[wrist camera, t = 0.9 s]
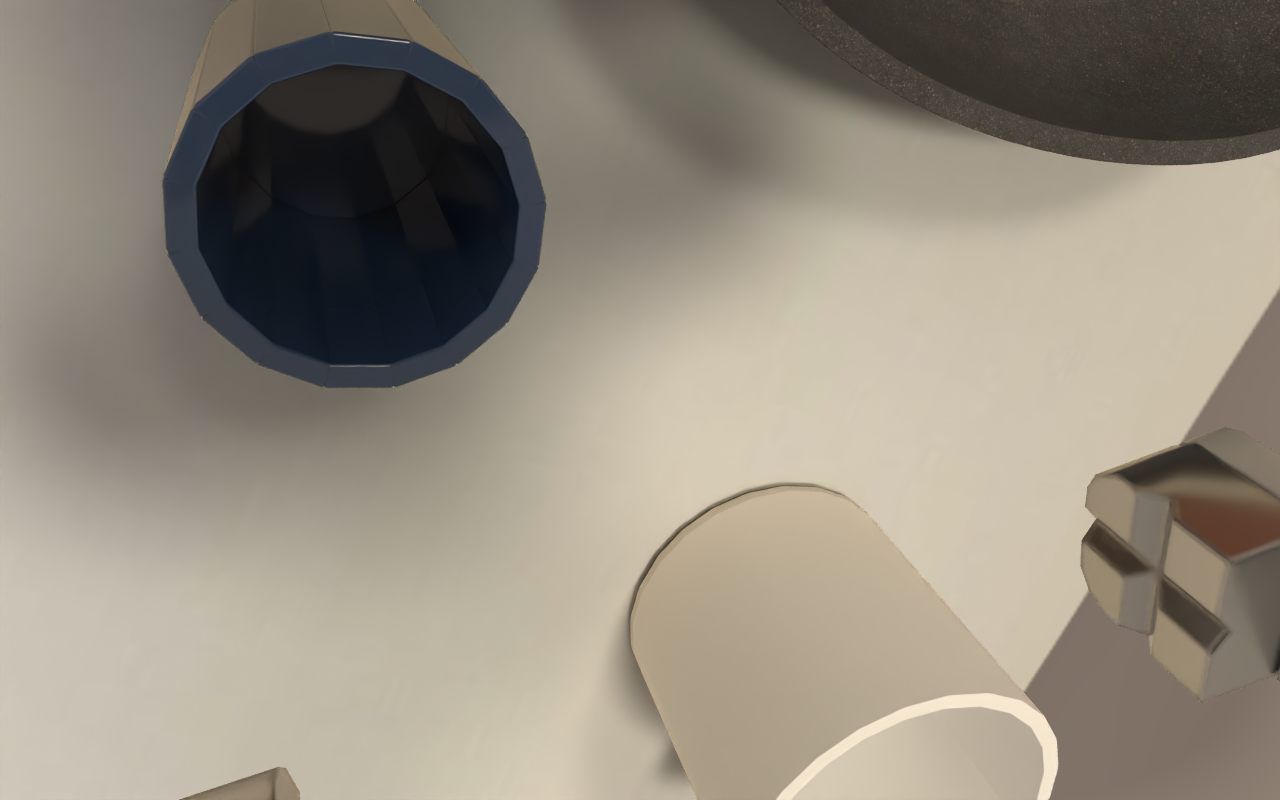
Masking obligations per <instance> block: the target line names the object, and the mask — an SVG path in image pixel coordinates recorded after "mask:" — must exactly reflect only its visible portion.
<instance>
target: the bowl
mask: <svg viewBox="0 0 1280 800" xmlns="http://www.w3.org/2000/svg"><path fill="white" fill-rule="evenodd" d="M777 1H778V2H779V3H780V4H781V5H782V6H783V7H784V8H785V9H786V10H787V11H788V12H789V13H790V15H791V16H792V17H793V18H794V19H795V20H796V21H797V22H798V23H799V24H801V25H802V26H803V27H804V28H805V29H806V30H807V31H808V32H810V33H811V34H812V35H813V36H814V37H815V38H816V39H817V40H819V41H820V42H821V43H822V44H823V45H824V46H826V47H827V48H828V49H830V50H831V51H832V52H834V53H835V54H836V55H838V56H839V57H840V58H842V59H843V60H844V61H846V62H847V63H848V64H849V65H851V66H852V67H854V68H855V69H857V70H858V71H860V72H861V73H863V74H865V75H866V76H868V77H869V78H871V79H872V80H874V81H875V82H877V83H878V84H880V85H882V86H883V87H885V88H887V89H889V90H891V91H892V92H894V93H896V94H898V95H900V96H901V97H903V98H905V99H907V100H909V101H910V102H912V103H914V104H916V105H919V106H921V107H923V108H925V109H927V110H929V111H931V112H933V113H935V114H938V115H940V116H942V117H944V118H946V119H949V120H951V121H954V122H956V123H959V124H961V125H964V126H966V127H969V128H971V129H974V130H977V131H980V132H982V133H985V134H988V135H991V136H994V137H997V138H1000V139H1003V140H1006V141H1010V142H1013V143H1017V144H1021V145H1024V146H1028V147H1032V148H1035V149H1039V150H1044V151H1048V152H1053V153H1057V154H1062V155H1067V156H1072V157H1078V158H1085V159H1091V160H1097V161H1105V162H1115V163H1125V164H1141V165H1192V164H1203V163H1215V162H1223V161H1229V160H1235V159H1242V158H1247V157H1251V156H1256V155H1260V154H1264V153H1269V152H1272V151H1276V150H1279V149H1280V0H777Z"/></svg>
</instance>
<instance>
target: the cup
mask: <svg viewBox="0 0 1280 800" xmlns="http://www.w3.org/2000/svg"><path fill="white" fill-rule="evenodd" d="M163 176H164V177H163V180H162V189H163V207H164V225H165V243H166V250H167V251H168V252H167V254H168V257H169V259H170V261H171V263H172V265H173V267H174V269H175V270H176V272H177V274H178V276H179V278H180V280H181V282H182V284H183V286H184V288H185V289H186V291H187V293H188V295H189V297H190V299H191V301H192V303H193V305H194V307H195V308H196V310H197V312H198V314H199V315H200V316H201V317H202V318H203V320H204V321H205V322H206V323H208V324H209V325H210V326H211V327H212V328H214V329H215V330H216V331H217V332H218V333H220V334H221V335H222V336H223V337H224V338H226V339H227V340H228V341H229V342H230V343H232V344H233V345H234V346H235V347H236V348H238V349H239V350H240V351H241V352H242V353H244V354H245V355H246V356H247V357H248V358H250V359H251V360H252V361H253V362H255V363H258V364H259V365H260V366H263V367H266V368H268V369H271V370H274V371H277V372H280V373H283V374H286V375H288V376H291V377H294V378H297V379H300V380H303V381H306V382H308V383H311V384H314V385H317V386H320V387H324V386H325V387H326V388H392V387H393V386H394V387H398V386H400V385H403V384H406V383H409V382H412V381H414V380H417V379H420V378H423V377H426V376H428V375H431V374H434V373H437V372H440V371H442V370H445V369H448V368H451V367H454V366H455V365H456V364H459V363H460V362H462V361H463V360H464V359H465V358H466V357H468V356H469V355H470V354H471V353H472V352H474V351H475V350H476V349H477V348H478V347H480V346H481V345H482V344H483V343H484V342H486V341H487V340H488V339H489V338H490V337H492V336H493V335H494V334H495V333H497V332H498V331H499V330H500V329H501V328H503V327H504V326H505V325H506V323H508V322H509V320H510V318H511V316H512V315H513V313H514V311H515V309H516V307H517V306H518V304H519V302H520V300H521V298H522V297H523V295H524V293H525V291H526V289H527V288H528V286H529V284H530V282H531V280H532V279H533V277H534V275H535V273H536V271H537V270H538V265H539V262H540V253H541V245H542V236H543V228H544V219H545V211H546V202H545V199H546V197H545V194H544V190H543V187H542V184H541V180H540V177H539V173H538V170H537V166H536V163H535V159H534V156H533V152H532V149H531V146H530V142H529V139H528V137H527V136H526V133H525V131H524V130H523V129H522V128H521V126H520V125H519V124H518V123H517V121H516V120H515V119H514V118H513V116H512V115H511V114H510V113H509V111H508V110H507V109H506V108H505V106H504V105H503V104H502V103H501V102H500V100H499V99H498V98H497V97H496V95H495V94H494V93H493V92H492V90H491V89H490V88H489V87H488V85H487V84H486V83H485V82H484V80H483V79H482V78H481V77H480V76H479V75H478V73H477V72H476V71H475V70H474V69H473V67H472V66H471V65H470V64H469V63H468V62H467V60H466V59H465V58H464V57H463V56H462V55H461V53H460V52H459V51H458V50H457V49H456V47H455V46H454V45H453V44H452V43H451V42H450V40H449V39H448V38H447V37H446V36H445V35H444V33H443V32H442V31H441V30H440V29H439V27H438V26H437V25H436V24H435V23H434V22H433V20H432V19H431V18H430V17H429V16H428V14H427V13H426V12H425V11H424V10H423V9H422V7H421V6H420V5H418V4H417V3H416V2H415V1H413V0H233V1H232V2H231V3H230V4H229V5H228V6H227V7H226V9H225V10H224V11H223V12H222V13H221V15H220V16H218V17H217V18H216V21H215V22H214V23H213V25H212V27H211V29H210V32H209V34H208V36H207V38H206V40H205V42H204V46H203V49H202V51H201V53H200V56H199V58H198V61H197V63H196V65H195V68H194V71H193V74H192V78H191V81H190V85H189V88H188V91H187V95H186V98H185V102H184V105H183V109H182V112H181V115H180V119H179V122H178V126H177V129H176V133H175V136H174V139H173V143H172V146H171V150H170V153H169V157H168V160H167V163H166V167H165V170H164V174H163Z"/></svg>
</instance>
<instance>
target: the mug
mask: <svg viewBox="0 0 1280 800" xmlns="http://www.w3.org/2000/svg"><path fill="white" fill-rule="evenodd" d="M630 625H631V648H632V650H633V653H634V655H635V658H636V660H637V663H638V665H639V668H640V670H641V672H642V675H643V677H644V679H645V682H646V684H647V686H648V688H649V691H650V693H651V695H652V698H653V700H654V702H655V704H656V707H657V709H658V711H659V713H660V716H661V718H662V720H663V722H664V725H665V727H666V729H667V731H668V734H669V736H670V738H671V740H672V743H673V745H674V747H675V750H676V752H677V754H678V756H679V759H680V761H681V763H682V765H683V768H684V770H685V772H686V774H687V777H688V779H689V781H690V783H691V786H692V788H693V790H694V792H695V795H696V797H697V799H698V800H1048V799H1049V797H1050V794H1051V791H1052V787H1053V783H1054V780H1055V777H1056V773H1057V769H1058V754H1057V739H1056V737H1055V735H1054V734H1053V732H1052V730H1051V728H1050V726H1049V724H1048V722H1047V721H1046V719H1045V717H1044V716H1043V714H1042V713H1041V712H1040V711H1039V710H1038V709H1037V707H1036V706H1035V705H1034V704H1033V703H1032V702H1031V701H1030V700H1029V698H1028V697H1027V696H1026V695H1025V694H1024V692H1023V691H1022V690H1021V689H1020V688H1019V687H1018V686H1017V684H1016V683H1015V682H1014V681H1013V680H1012V679H1011V678H1010V676H1009V675H1008V674H1007V673H1006V672H1005V671H1004V669H1003V668H1002V667H1001V666H1000V665H999V664H998V663H997V661H996V660H995V659H994V658H993V657H992V656H991V655H990V653H989V652H988V651H987V650H986V649H985V648H984V647H983V645H982V644H981V643H980V642H979V641H978V640H977V638H976V637H975V636H974V635H973V634H972V633H971V632H970V630H969V629H968V628H967V627H966V626H965V625H964V624H963V622H962V621H961V620H960V619H959V618H958V617H957V616H956V614H955V613H954V612H953V611H952V610H951V609H950V608H949V606H948V605H947V604H946V603H945V602H944V601H943V599H942V598H941V597H940V596H939V595H938V594H937V593H936V591H935V590H934V589H933V588H932V587H931V586H930V585H929V583H928V582H927V581H926V580H925V579H924V578H923V577H922V575H921V574H920V573H919V572H918V571H917V570H916V568H915V567H914V566H913V565H912V564H911V563H910V562H909V560H908V559H907V558H906V557H905V556H904V555H903V554H902V552H901V551H900V550H899V549H898V548H897V547H896V546H895V544H894V543H893V542H892V541H891V540H890V539H889V537H888V536H887V535H886V534H885V533H884V532H883V531H882V529H881V528H880V527H879V526H878V525H877V524H876V523H875V521H874V520H873V519H872V518H871V517H870V516H869V515H868V514H867V513H866V512H865V511H864V510H863V509H861V508H860V507H859V506H857V505H856V504H855V503H853V502H852V501H851V500H850V499H848V498H847V497H845V496H842V495H839V494H836V493H833V492H830V491H827V490H824V489H821V488H818V487H795V486H780V487H775V488H770V489H765V490H760V491H756V492H751V493H746V494H744V495H742V496H740V497H737V498H735V499H733V500H730V501H728V502H726V503H724V504H721V505H719V506H717V507H714V508H713V509H711V510H710V511H708V512H707V513H705V514H704V515H703V516H701V517H700V518H698V519H697V520H695V521H694V522H693V523H691V524H690V525H688V526H687V527H685V528H684V529H683V530H682V531H681V532H680V533H679V534H678V535H677V536H676V537H675V538H674V539H673V540H672V541H671V542H670V544H669V545H668V546H667V547H666V548H665V549H664V550H663V551H662V552H661V553H660V554H659V555H658V557H657V558H656V560H655V562H654V564H653V565H652V567H651V569H650V570H649V572H648V574H647V575H646V577H645V579H644V580H643V582H642V584H641V586H640V587H639V590H638V594H637V597H636V601H635V604H634V608H633V611H632V614H631V618H630Z"/></svg>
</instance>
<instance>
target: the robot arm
mask: <svg viewBox="0 0 1280 800" xmlns="http://www.w3.org/2000/svg"><path fill="white" fill-rule="evenodd" d="M1085 507H1086V508H1087V509H1088V510H1089V512H1090V513H1091V514H1092V515H1093V516H1094V517H1095V518H1096V520H1095V521H1094V523H1093V524H1092V526H1091V527H1090V529H1089V530H1088V532H1087V533H1086V535H1085V536H1084V538H1083V539H1082V544H1081V565H1080V566H1081V569H1082V572H1083V575H1084V577H1085V580H1086V583H1087V586H1088V589H1089V591H1090V593H1091V594H1092V596H1093V597H1094V599H1095V600H1096V601H1097V603H1098V604H1099V606H1100V607H1101V609H1102V610H1103V611H1104V612H1105V613H1106V614H1107V615H1108V616H1110V617H1111V618H1112V619H1113V620H1114V621H1115V622H1116V623H1117V624H1118V625H1119V626H1121V627H1124V628H1127V629H1130V630H1133V631H1136V632H1139V633H1142V634H1145V635H1148V638H1149V644H1150V651H1151V656H1152V657H1153V658H1154V659H1155V660H1156V661H1157V662H1158V663H1159V664H1160V665H1161V666H1163V667H1164V668H1165V669H1166V670H1167V671H1168V672H1169V673H1170V674H1171V675H1172V676H1173V677H1175V679H1176V680H1178V681H1179V682H1180V683H1181V684H1182V685H1183V686H1184V687H1185V688H1186V689H1187V690H1188V691H1189V692H1190V693H1192V694H1193V695H1194V696H1195V697H1196V698H1197V699H1198V700H1199V701H1200V702H1201V703H1203V702H1206V701H1209V700H1211V699H1214V698H1216V697H1219V696H1222V695H1224V694H1227V693H1230V692H1232V691H1235V690H1238V689H1240V688H1243V687H1246V686H1248V685H1251V684H1253V683H1256V682H1258V681H1261V680H1264V679H1267V678H1269V677H1272V676H1275V675H1277V674H1278V677H1277V680H1279V681H1280V454H1278V453H1277V452H1275V451H1274V450H1272V449H1270V448H1269V447H1267V446H1265V445H1264V444H1262V443H1261V442H1259V441H1257V440H1256V439H1254V438H1252V437H1251V436H1249V435H1247V434H1246V433H1244V432H1242V431H1239V430H1235V429H1231V428H1226V427H1224V428H1221V429H1218V430H1215V431H1213V432H1210V433H1207V434H1205V435H1202V436H1199V437H1196V438H1194V439H1191V440H1188V441H1185V442H1183V443H1181V444H1180V445H1176V446H1172V447H1169V448H1166V449H1163V450H1161V451H1158V452H1155V453H1153V454H1150V455H1147V456H1144V457H1142V458H1139V459H1136V460H1134V461H1131V462H1128V463H1125V464H1123V465H1120V466H1117V467H1115V468H1112V469H1109V470H1107V471H1104V472H1101V473H1098V474H1096V475H1095V476H1094V478H1093V479H1092V481H1091V483H1090V484H1089V486H1088V487H1087V495H1086V504H1085ZM180 800H300V791H299V790H298V788H297V786H296V785H295V783H294V781H293V779H292V778H291V776H290V774H289V773H288V771H287V769H286V768H282V767H277V768H274V769H271V770H268V771H265V772H262V773H258V774H255V775H252V776H249V777H246V778H243V779H240V780H237V781H234V782H231V783H228V784H225V785H222V786H219V787H216V788H213V789H210V790H207V791H204V792H201V793H198V794H195V795H192V796H189V797H186V798H183V799H180Z"/></svg>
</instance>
